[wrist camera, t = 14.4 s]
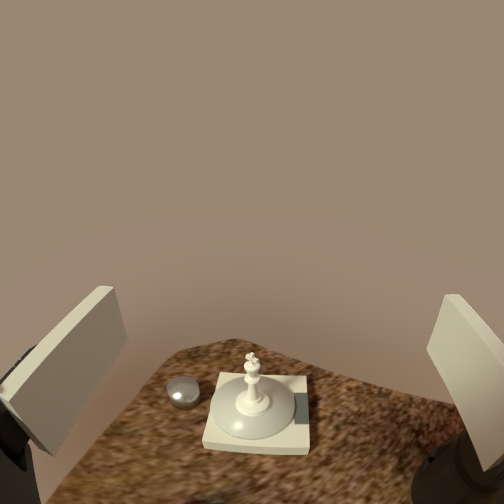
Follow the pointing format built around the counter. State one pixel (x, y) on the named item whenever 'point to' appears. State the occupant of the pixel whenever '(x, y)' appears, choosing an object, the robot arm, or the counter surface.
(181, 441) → the counter surface
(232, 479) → the counter surface
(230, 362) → the counter surface
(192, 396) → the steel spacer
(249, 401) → the chess piece
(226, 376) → the scale
